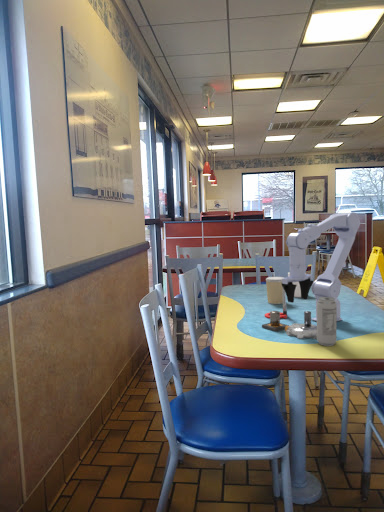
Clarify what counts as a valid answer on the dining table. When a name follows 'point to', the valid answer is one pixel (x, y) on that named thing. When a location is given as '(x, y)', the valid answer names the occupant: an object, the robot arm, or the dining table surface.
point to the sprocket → (303, 328)
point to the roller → (274, 318)
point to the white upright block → (297, 290)
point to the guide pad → (274, 327)
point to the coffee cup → (274, 290)
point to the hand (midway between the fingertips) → (297, 300)
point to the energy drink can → (326, 321)
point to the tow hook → (284, 314)
